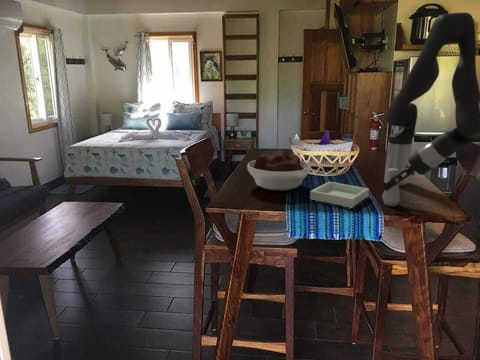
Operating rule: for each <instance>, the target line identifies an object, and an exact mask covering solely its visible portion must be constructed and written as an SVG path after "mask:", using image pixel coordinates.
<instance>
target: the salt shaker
mask: <svg viewBox="0 0 480 360" xmlns="http://www.w3.org/2000/svg"><path fill="white" fill-rule="evenodd" d="M398 172H400V170H399V169H396V168H390V169H388V170H387V175H389V177H388V180H387V182H389V181H390V180H391V178H394V177H395V175H396V174H397V173H398ZM394 180H395V181H396V182H398V179H397V178H395V179H394ZM383 190H384V189H383ZM400 196H401V194H400V185H399V183H398V184H397V185H395V186H393V187H392V188H390V189H389V190H387V191H385V190H384V191H383V194H382V195H381V197H382V201H383V204H384V205H385V206H387V205H388V207H395V206H397V205H398V204H399V202H400V200H401V197H400Z"/></svg>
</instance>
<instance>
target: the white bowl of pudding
mask: <svg viewBox="0 0 480 360" xmlns="http://www.w3.org/2000/svg"><path fill="white" fill-rule="evenodd" d="M246 167H247V171H248V173H249V174H250V176H252V177H253V180H254V182H255V184H256V185H257V186H258V187H260V188H262V189H265V190H270V191H288V190H290V191H291V190H294V189H296V188H298V187H300V186H301V184H302V182H303V180H304V179H305V178H306V177H308V174H310V171H311V166H310V164H309V163H307V162H306V161H304V160H303V161H302V160H301V158H300V156H299V155H297V154H295V153H294V154H289V155H288V154H287V153H286V152H285V151H284V150H282V149H278V150H276V151H273V152H272V154H268V153H266V154H264V153H262V154H260V155H259V156H257V158H256V159H254V160H251V161H249V162H248V163H247V166H246Z"/></svg>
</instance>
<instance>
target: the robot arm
mask: <svg viewBox="0 0 480 360" xmlns="http://www.w3.org/2000/svg"><path fill="white" fill-rule="evenodd" d="M475 25H476V24H475V21H474V17H473V15H472V14H471V13H469V12H455V13H454V12H451V13H450V12H449V13H443V14H440V15H438V16H437V17H436V18H435V19H434V21H433V23H432V25H431V27H430V29H429V32H428V34H427V37H426V39H425V41H424V44H423V46H422V48H421V50H420V53H419V54H418V56H417V58H416V61H415V62H414V64H413V66H412V68H411V69H410V71H409V72H408V74H407V77H406V79H405V81H404V83H403V85H402V87H400V90H399V91H398V93H397V94H396V96H395V97H394V99H393V100H392V101H391V103H390V104H389V106H388V108H387V111H386V115H385V120H386V123H387V124H388V125H390V126H391V127H401V129H399V130H398V131H396V132H394V133H391V134H389V135H388V139H387V141H388V142H387V150H386V160H385V167H384V168H385V170H384V179H383V182H384V183H385V184H383V185H382V188H383V190H385V191H387V190H389V189H390V188H392V187H393V186H395V185H397V184H398V183H399V186H407V184H408V180H409V179H410V178H412V177H413V176H415V175H416V173H417V174H418V175H420V176H424V175H425V174H427V173H428V172H430V171H432V170H433V169H435V168H436V167H438V166H439V165H441V164H442V163H443V162H444V161H445V160H446V159H447V158H449V157H451V156H452V155H453V154H455V153H456V152H457V151H459V150H460V149H461V148H464V147H466V146H468V145H470V144H472V143H474V142H476V141H478V140H479V139H480V86H479V81H478V76H477V66H476V65H477V62H476V61H477V60H476V58H477V56H476V55H477V54H476V53H477V52H476V50H477V49H476V48H477V47H476V44H477V43H476V26H475ZM446 45H457V47H458V51H459V59H458V62H457V65H456V68H455V71H454V72H453V76H452V79H451V90H452V94H453V99H454V103H455V110H454V111H455V112H454V113H455V116H454V117H455V125H456V127H455V128H453V129H452V130H449V131H446V132H443V133H441V134H440V135H439V136H437V137H436V138H434V139H433V140H431V141H430V142H429V143H427V144H425V145H423V146H422V147H421V148H419V149H418V150H416V151H415V152H414V153H412V147H413V141H414V140H413V139H414V137H415V133H416V125H417V120H418V107H417V105H416V103H413V102H415V100H417V99H419V98H421V97H423V96H424V95H425V94H426V93H428V92H429V91H430V90H431V89H432V87H433V85H434V84H435V82H436V81H437V79H438V77H439V75H440V66H439V62H438V55H439V53H440V51H441V50H442V48H443V47H444V46H446ZM390 168H396V169H399V170H400V172H398V173H397V174H396V175H395V177H394V178H391V180H390V181H389V182H387V180H388V177H389V175H387V170H388V169H390ZM395 178H397V179H398V182H396V181H395V180H394V179H395Z"/></svg>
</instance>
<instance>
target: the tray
mask: <svg viewBox="0 0 480 360" xmlns="http://www.w3.org/2000/svg"><path fill="white" fill-rule="evenodd" d="M369 192H370V188H367V187H362V186H356V185H351V184H344V183H340V182H334V181H328V182H326V183H324V184H322V185H320V186H318V187H315V188H314V189H311V190H310V191H309V194H310V196H309V200H310V199H311V200H310V201H312V200H316V201H315V202H317V201H322V202H327V203H332V204H337V205H341V206H345V207H349V208H348V209H350V208H353V207H354V206H355V205H356V204H358V203H359V202H360V201H362V200H364V199H365V198H367V197H368V198H369V196H370V195H369ZM368 198H367V199H368ZM364 201H365V200H364ZM358 205H359V204H358ZM345 207H344V208H345ZM355 207H356V206H355ZM355 207H354V208H355ZM354 208H353V209H354Z"/></svg>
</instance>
